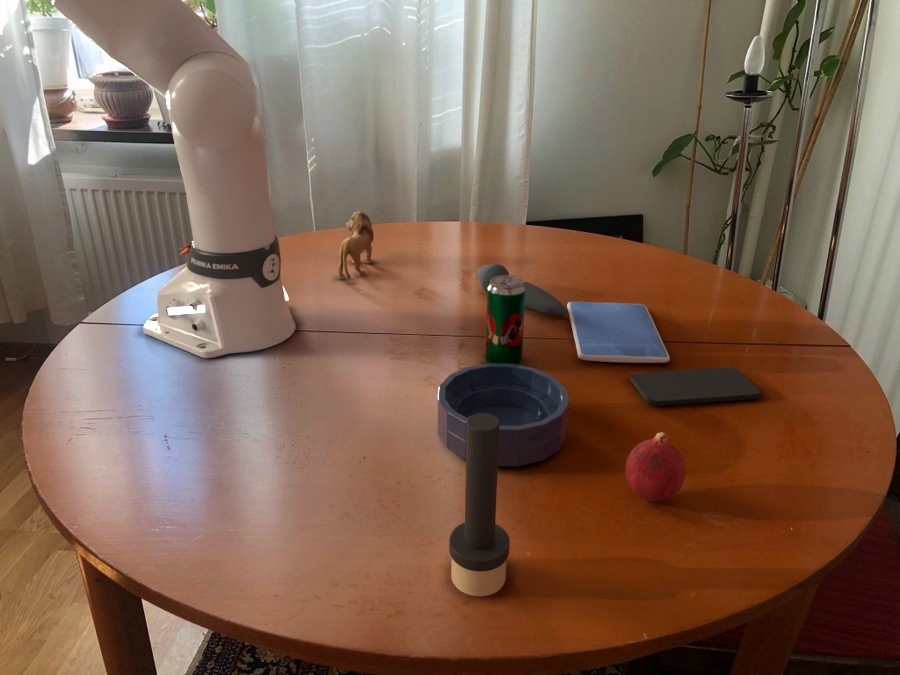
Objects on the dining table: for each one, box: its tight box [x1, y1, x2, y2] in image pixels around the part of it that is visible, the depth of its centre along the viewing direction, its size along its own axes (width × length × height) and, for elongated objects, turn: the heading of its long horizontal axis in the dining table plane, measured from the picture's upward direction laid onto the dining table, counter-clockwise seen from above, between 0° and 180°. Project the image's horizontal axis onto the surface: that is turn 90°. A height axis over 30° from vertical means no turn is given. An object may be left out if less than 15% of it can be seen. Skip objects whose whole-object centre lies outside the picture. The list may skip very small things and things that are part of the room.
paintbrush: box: [476, 263, 568, 317], centre depth 120 cm, size 20×5×5 cm, turn 48°
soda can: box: [484, 274, 526, 365], centre depth 99 cm, size 5×5×12 cm
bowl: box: [437, 362, 570, 467], centre depth 85 cm, size 15×15×6 cm
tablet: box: [566, 301, 671, 364], centre depth 110 cm, size 19×13×1 cm, turn 177°
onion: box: [624, 431, 687, 503], centre depth 74 cm, size 6×6×8 cm
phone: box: [630, 366, 761, 407], centre depth 95 cm, size 7×1×15 cm
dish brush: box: [448, 413, 511, 597], centre depth 62 cm, size 5×5×16 cm
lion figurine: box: [337, 211, 375, 282], centre depth 132 cm, size 15×5×9 cm, turn 178°
